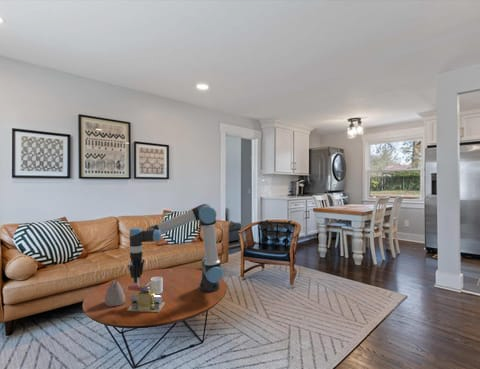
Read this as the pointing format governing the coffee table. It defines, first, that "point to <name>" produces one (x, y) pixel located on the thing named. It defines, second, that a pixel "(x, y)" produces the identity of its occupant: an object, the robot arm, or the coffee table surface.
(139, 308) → the valve body
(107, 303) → the sculpture
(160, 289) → the mug
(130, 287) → the lever
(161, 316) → the coffee table surface
